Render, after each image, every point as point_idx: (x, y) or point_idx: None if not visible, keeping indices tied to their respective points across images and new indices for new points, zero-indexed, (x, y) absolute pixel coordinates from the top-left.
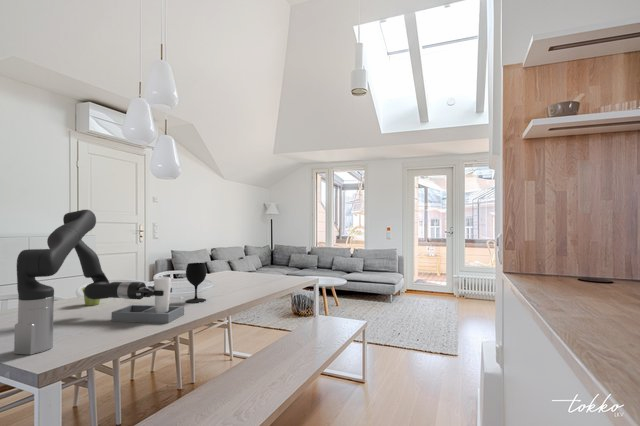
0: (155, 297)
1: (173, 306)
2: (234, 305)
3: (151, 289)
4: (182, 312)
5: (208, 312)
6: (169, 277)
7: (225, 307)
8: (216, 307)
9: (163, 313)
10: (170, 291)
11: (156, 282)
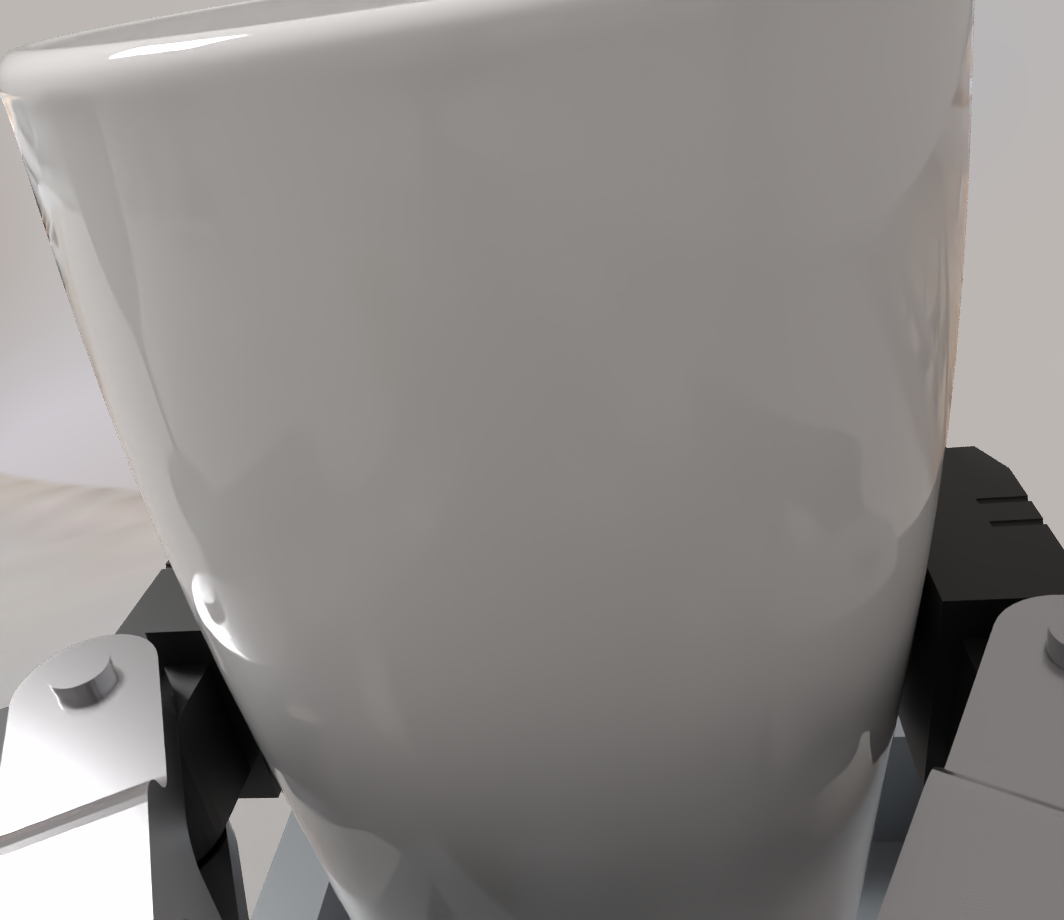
0: (856, 892)
1: (311, 900)
2: (26, 492)
3: (978, 790)
4: None
5: None
6: (243, 17)
7: (87, 527)
8: (36, 599)
9: None
10: None
11: (964, 159)
